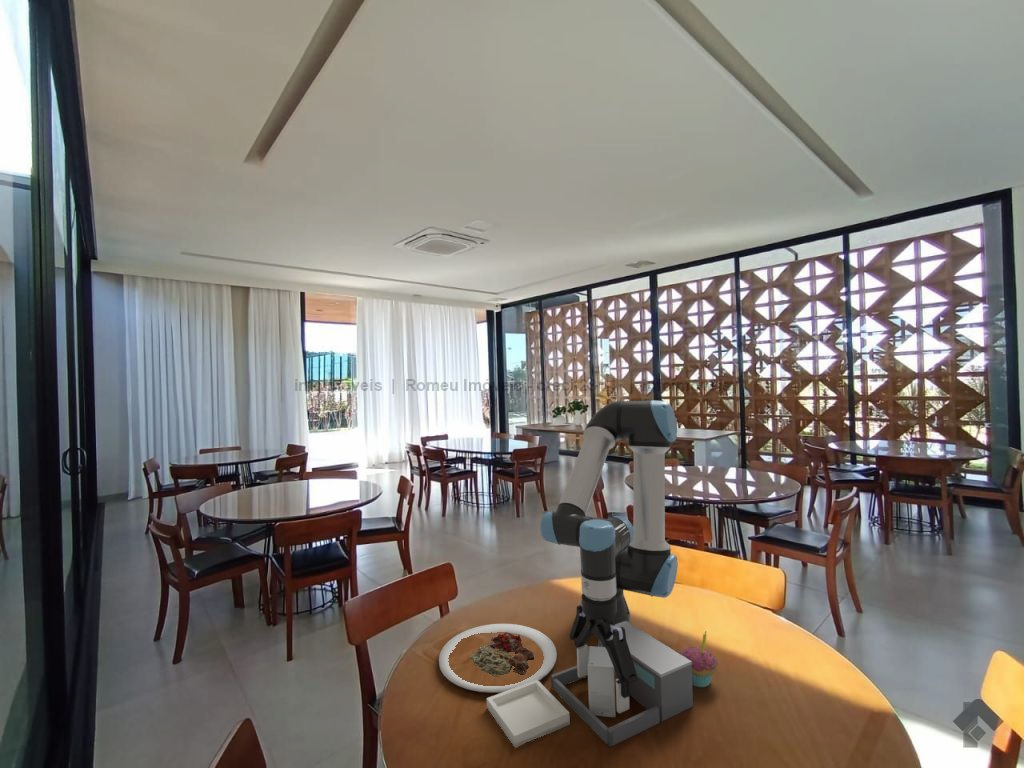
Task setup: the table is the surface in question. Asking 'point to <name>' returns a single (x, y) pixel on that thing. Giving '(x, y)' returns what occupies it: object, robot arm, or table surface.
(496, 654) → the plated food
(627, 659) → the robot arm
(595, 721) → the printer
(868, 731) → the table surface
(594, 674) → the small box
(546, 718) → the tray
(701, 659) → the cupcake
